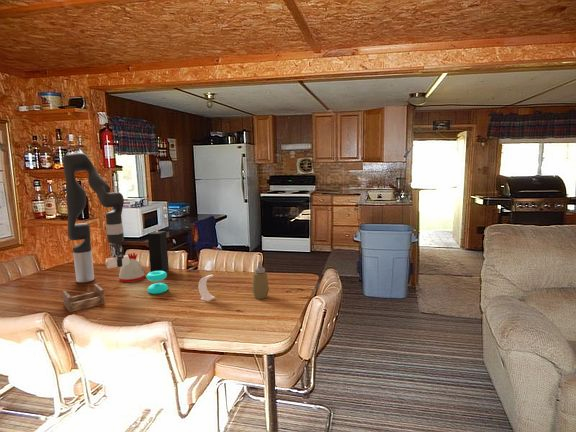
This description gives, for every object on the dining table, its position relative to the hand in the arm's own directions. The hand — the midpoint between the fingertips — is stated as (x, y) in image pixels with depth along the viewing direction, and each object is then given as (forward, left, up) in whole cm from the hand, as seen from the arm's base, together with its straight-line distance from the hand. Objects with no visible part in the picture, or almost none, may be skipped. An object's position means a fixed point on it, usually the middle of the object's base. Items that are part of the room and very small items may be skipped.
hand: (118, 265), depth 189 cm
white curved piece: (+37, +29, -15) cm, 49 cm away
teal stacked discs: (+9, +16, -15) cm, 24 cm away
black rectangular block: (-25, +31, -15) cm, 43 cm away
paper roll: (0, 0, -1) cm, 1 cm away
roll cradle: (+2, -17, -15) cm, 23 cm away
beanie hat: (-24, +14, -16) cm, 32 cm away
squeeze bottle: (+54, +49, -15) cm, 74 cm away
